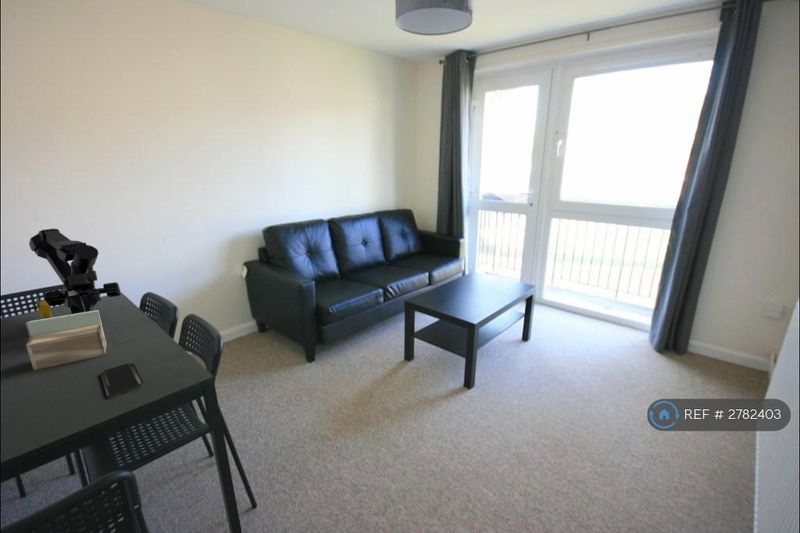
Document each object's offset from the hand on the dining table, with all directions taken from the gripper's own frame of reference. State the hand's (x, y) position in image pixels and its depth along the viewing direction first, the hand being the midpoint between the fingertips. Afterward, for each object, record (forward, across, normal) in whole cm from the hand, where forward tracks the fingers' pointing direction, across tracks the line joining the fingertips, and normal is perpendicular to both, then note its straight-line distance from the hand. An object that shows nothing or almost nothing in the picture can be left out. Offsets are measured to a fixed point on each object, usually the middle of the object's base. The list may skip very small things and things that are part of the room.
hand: (86, 316), depth 119 cm
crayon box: (-6, -13, +18) cm, 23 cm away
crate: (+14, -4, -2) cm, 14 cm away
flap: (+11, -4, 0) cm, 12 cm away
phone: (+29, +9, -17) cm, 35 cm away
